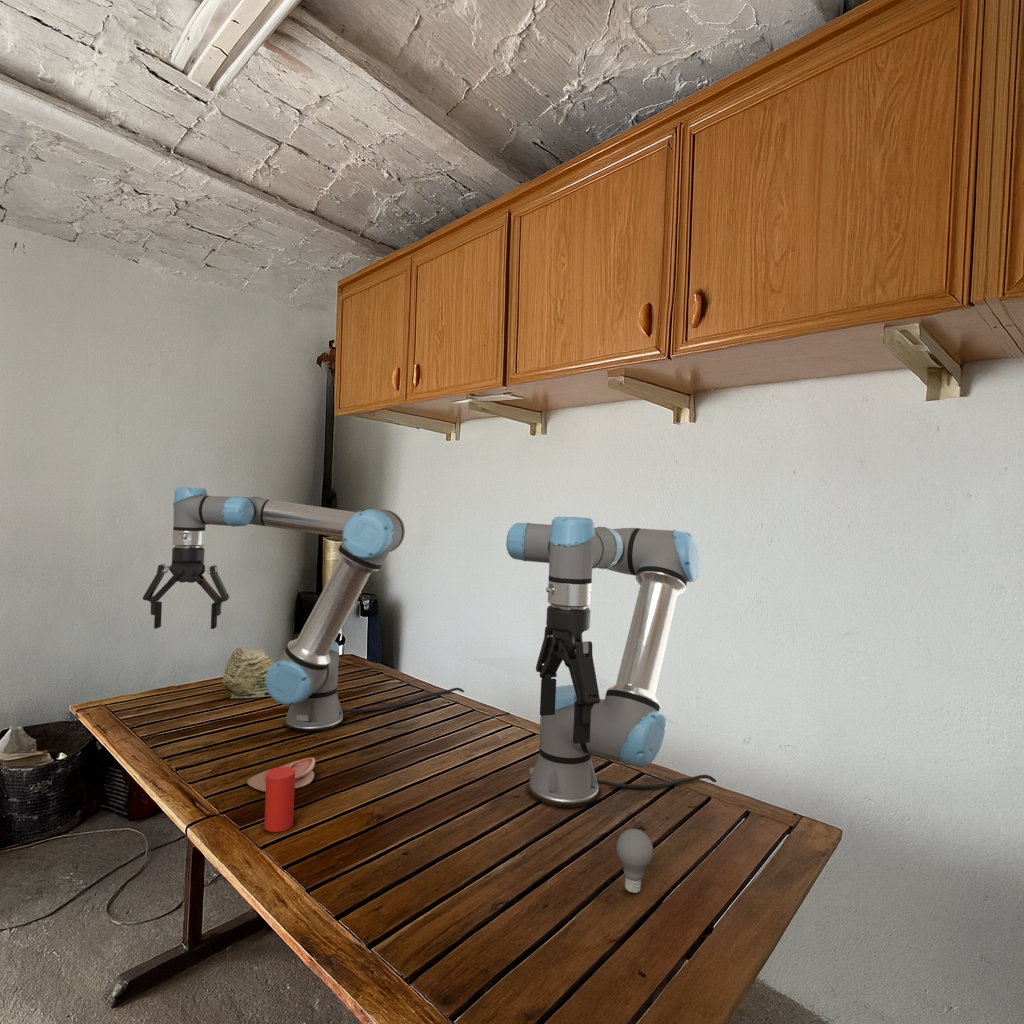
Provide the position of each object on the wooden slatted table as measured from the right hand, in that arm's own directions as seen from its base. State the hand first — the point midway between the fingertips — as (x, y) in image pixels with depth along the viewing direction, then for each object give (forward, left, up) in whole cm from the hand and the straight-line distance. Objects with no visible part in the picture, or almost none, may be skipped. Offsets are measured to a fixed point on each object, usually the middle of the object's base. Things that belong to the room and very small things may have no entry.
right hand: (563, 727), depth 110 cm
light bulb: (-10, +9, -25) cm, 29 cm away
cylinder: (+46, -28, -25) cm, 60 cm away
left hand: (+71, -83, +2) cm, 109 cm away
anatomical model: (+46, -47, -25) cm, 71 cm away
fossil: (+56, -111, -25) cm, 127 cm away
